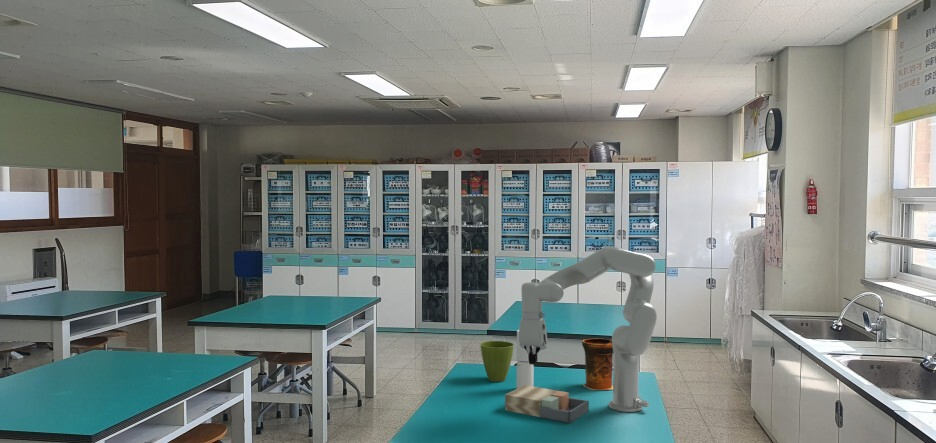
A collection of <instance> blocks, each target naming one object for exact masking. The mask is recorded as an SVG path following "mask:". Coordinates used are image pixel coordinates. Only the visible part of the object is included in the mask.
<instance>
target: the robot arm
mask: <svg viewBox="0 0 936 443" xmlns="http://www.w3.org/2000/svg"><path fill="white" fill-rule="evenodd" d="M656 268H657V267H656V261H655V260H654V258H653V257H652V256H650V255H647V254H645V253H640V252H635V251H631V250H627V249H624V248H620V247H617V246H611V245H610V246H609V245H607V246H603V247H602V248H600V249H598V250H596V251H595V252H593V253H592V254H590V255H588V256H587V257H584V258H583V259H581V260H580V261H578V262H576V263H573V264H571V265H569V266H567V267H564V268H563V269H560V270H558V271H556V272H554V273H553V274H551V275H549V276H547V277H546V278H544V279H542V280H541V281H540V282H533V281H531V282H525V283H522V285H521V318H520V321H519V327H518V330H519V343H520V347H522V348H525V350H526V351H527V353H528V359H529V364H532V365H536V364H537V363H538V353H540V351H542V350H546V349H547V346H546V345H547V344H548V333H547V325H546V320H545V317H546V314H545V313H544V312H543V302H545V303H557V302H559V301H561V299H562V298H563V297H564V290H565V289H567V288H570V287H572V286H577V285H583V284H587V283H590V282H591V281H594V280H595V279H596V278H598V277H599V276H601V275H604V274H605V273H607V272H609V271H610V270H613V271H616V272H618V273H624V274H627V275H629V277H630V278H629V279H630V287H629V292H628V294H627V296H626V300H625V302H624V303H625V304H624V306H623V309H622V315H623V318H624V319H625V320H626V322H628V323H629V325H626V324H625V325H620V326H617V327H616V328H615V329H614V330H613V332H612V335H611V340H612V346H613V367H612V385H613V389H612V390H613V391H612V400H611V401H609V403H608V406H609V408H610V409H612V410H615V411H618V412H624V413H635V412H639V411H641V410H643V407H644V408H649V406H650V403H649V401H648V400H642V397H641V395H639V376H640V375H639V369H640V367H639V365H640V364H639V362H640V361H639V360H640V359H639V357H640V356H642V355H643V354H644V353H645V352H646V351H647V349H648V348H649V345H650V343H651V339H652V336H653V333H654V331H655V327H656V323H657V316H658V315H657V310H656V309H655V307H654V306H653V305H652V304H651V300H652V295H653V291H654V278H653V273H654V272H655V271H656ZM532 346H533V347H532Z"/></svg>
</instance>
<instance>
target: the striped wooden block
mask: <svg viewBox="0 0 936 443" xmlns="http://www.w3.org/2000/svg"><path fill="white" fill-rule="evenodd" d="M558 391H559V390H557V389H556V390H555V389H550V388H544V387H539V386H528V385H524V386H522V387H520V388H518V389H517V388H516V389H514V390H512V391H509V392H508V393H505V395H504V399H505V400H504V411H508V412H513V413H517V414H521V415H522V414H524V415H527V416H533V417H538V418H540V406H542V399H544V398H546V397H548V396H552V395H553V394H555V393H556V392H558Z"/></svg>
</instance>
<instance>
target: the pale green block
mask: <svg viewBox="0 0 936 443" xmlns="http://www.w3.org/2000/svg"><path fill="white" fill-rule="evenodd" d="M542 407H547V408H553V409H558V410H559V398H558V397H553V396H548V397H546V398H544V399H542Z"/></svg>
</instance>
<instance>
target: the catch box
mask: <svg viewBox="0 0 936 443" xmlns="http://www.w3.org/2000/svg"><path fill="white" fill-rule="evenodd" d="M589 402H590V400H586V399H580V398H574V397H569V408H568V409H566V410H565V411H563V410H558V409H553V408H547V407H542V406H540V417H539V418H541V419H545V420H551V421H555V422H560V423H565V424H571V423H573V422H575V421H576V420H578V419H580V418H581V417H582V416H584V415H585V414H587V413H588V412H589V411H590V410H589V405H590V404H589Z"/></svg>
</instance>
